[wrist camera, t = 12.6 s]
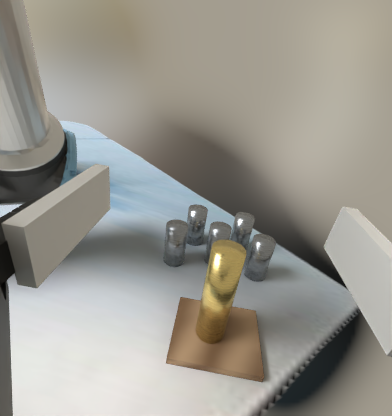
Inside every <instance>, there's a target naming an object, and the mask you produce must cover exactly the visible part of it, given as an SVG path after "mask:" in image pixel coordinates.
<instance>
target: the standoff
mask: <svg viewBox="0 0 392 416" xmlns="http://www.w3.org/2000/svg"><path fill="white" fill-rule="evenodd" d="M245 258H246V250H245V248H244V247H243V246H242V245H240V244H239V243H237V242H235V241H232V240H218V241H215V242H214V243H213V245H212V249H211V254H210V259H209V263H208V268H207V273H206V278H205V283H204V288H203V293H202V298H201V303H200V308H199V313H198V318H197V323H196V334H197V336H198V337H199V339H200V340H202V341H203V342H205V343H208V344H215V343H218V342H220V341H221V340H222V338H223V336H224V332H225V328H226V325H227V321H228V318H229V314H230V311H231V307H232V304H233V300H234V297H235V293H236V290H237V286H238V282H239V279H240V275H241V272H242V268H243V265H244V261H245Z"/></svg>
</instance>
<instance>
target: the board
mask: <svg viewBox="0 0 392 416" xmlns="http://www.w3.org/2000/svg"><path fill="white" fill-rule="evenodd" d="M200 303H201V301H200V300H194V299H189V298H183V297H180V302H179V306H178V311H177V315H176V319H175V324H174V328H173V333H172V337H171V342H170V346H169V350H168V355H167V360H166V363H168V364H173V365H178V366H183V367H188V368H193V369H199V370H204V371H209V372H214V373H219V374H224V375H229V376H234V377H239V378H244V379H249V380H254V381H259V382H262V381H263V379H264V372H263V364H262V356H261V349H260V341H259V333H258V325H257V317H256V311H254V310H248V309H243V308H238V307H231V311H230V314H229V318H228V321H227V325H226V328H225V332H224V336H223V338H222V340H221V341H220V342H218V343H215V344H208V343H205V342H203V341H202V340H200V339H199V337H198V336H197V334H196V323H197V318H198V313H199V308H200Z"/></svg>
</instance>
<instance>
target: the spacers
mask: <svg viewBox="0 0 392 416" xmlns="http://www.w3.org/2000/svg"><path fill="white" fill-rule="evenodd" d="M207 211H208V209H207V208H206V207H204V206H202V205H191V206H190V207H189V211H188V219H187V223H186V222H184V221H182V220H171V221H169V222H167V225H166V237H165V249H164V262H165V263H166V264H167V265H169V266H173V267H176V266H180V265H182V264H183V262H184V256H185V248H186V243H188V244H190V245H194V246H196V245H200V244H201V243H202V241H203V235H204V229H205V223H206V217H207ZM254 220H255V218H254V216H253V215H251V214H248V213H245V212H239V213H237V214H236V216H235V221H234V225H233V230H232V234H231V226H230V225H228V224H226V223H224V222H213V223H212V224H211V226H210V231H209V237H208V242H207V248H206V254H205V262H206V263H207V264H208V263H209V259H210V254H211V249H212V245H213V243H214V242H215V241H218V240H229V238H230V234H231V238H230V240H232V241H235V242H237V243H239V244H240V245H242V246H243V247H244V248H245V250H247V247H248V243H249V239H250V235H251V232H252V228H253V224H254ZM275 245H276V241H275V240H274V239H273V238H272V237H270V236H268V235H265V234H256V235H255V236H254V238H253V241H252V245H251V249H250V252H249V256H248V259H247V263H246V267H245V270H244V274H245V275H246V277H247V278H249V279H250V280H252V281H257V282H259V281H263V280H264V278H265V275H266V272H267V269H268V266H269V263H270V260H271V257H272V254H273V251H274V248H275Z"/></svg>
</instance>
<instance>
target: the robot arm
mask: <svg viewBox="0 0 392 416" xmlns="http://www.w3.org/2000/svg"><path fill="white" fill-rule="evenodd" d="M76 171H77V147H76V138H75V135H74V133H72V132H70V131H67V130H65V129H63V128H62V126H61V124H60V122H59V121H58V120H57V119H56V118H55V117H54V116H53V115H52V114H51V113H49V112H48V111H47V108H46V104H45V99H44V94H43V89H42V85H41V81H40V76H39V71H38V67H37V62H36V57H35V52H34V48H33V43H32V38H31V34H30V29H29V24H28V20H27V15H26V11H25V6H24V1H23V0H0V205H14V204H22V205H21V206H19V208H16V209H14V210H12V212H9V213H7V214H6V215H4V216H2V217H1V218H0V416H13V410H12V380H11V350H10V320H9V290H8V284H7V279H8V278H9V277H11V276H12V275H13V274H14V273H15V276H16V280H17V284H18V285H22V286H28V287H33V288H38V287H39V286H40V285H41V284H42V282H43V281H44V280H45V279H46V278H47V277H48V276H49V275H50V274H51V273H52V272H53V271H54V269H55V268H56V267H57V266H58V265H59V264H60V263H61V262H62V261H63V260H64V259H65V257H66V256H67V255H68V254H69V253H70V252H71V251H72V250H73V249H74V248H75V247H76V245H77V244H78V243H79V242H80V241H81V240H82V239H83V238H84V237H85V236H86V235H87V233H88V232H89V231H90V230H91V229H92V228H93V227H94V226H95V225H96V224H97V223H98V222H99V220H100V219H101V218H102V217H103V216H104V215H105V214H106V213H107V212H108V211H109V210H110V183H109V166H105V165H99V164H95V165H93V166H92V167H90V168H89V169H87V170H85V171H84V172H82V173H81V174H79V175H77V174H76ZM324 248H325V250H326V252H327V254H328V255H329V257H330V259H331V260H332V262H333V264H334V266H335V267H336V269H337V270H338V272H339V274H340V276H341V277H342V279H343V281H344V283H345V285H346V286H347V288H348V290H349V291H350V293H351V295H352V297H353V298H354V300H355V302H356V303H357V305H358V307H359V309H360V310H361V312H362V314H363V316H364V317H365V319H366V321H367V322H368V324H369V326H370V328H371V329H372V331H373V333H374V334H375V336H376V338H377V340H378V341H379V343H380V345H381V346H382V348H383V350H384V352H385V353H386V355H387V356H391V357H392V243H391V242H390V241H389V240H388V239H387V238H386V237H385V236H384V235H383V234H382V233H381V232H380V231H379V230H378V229H376V227H375V226H374V225H373V224H372V223H371V222H370V221H369V220H368V219H367V218H365V217H364V215H363V214H361V213H360V212H359V211H358V210H357V209H355V208H349V207H342V209H341V211H340V213H339V215H338V217H337V220H336V222H335V224H334V226H333V228H332V230H331V232H330V234H329V237H328V239H327V241H326V243H325V245H324Z"/></svg>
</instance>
